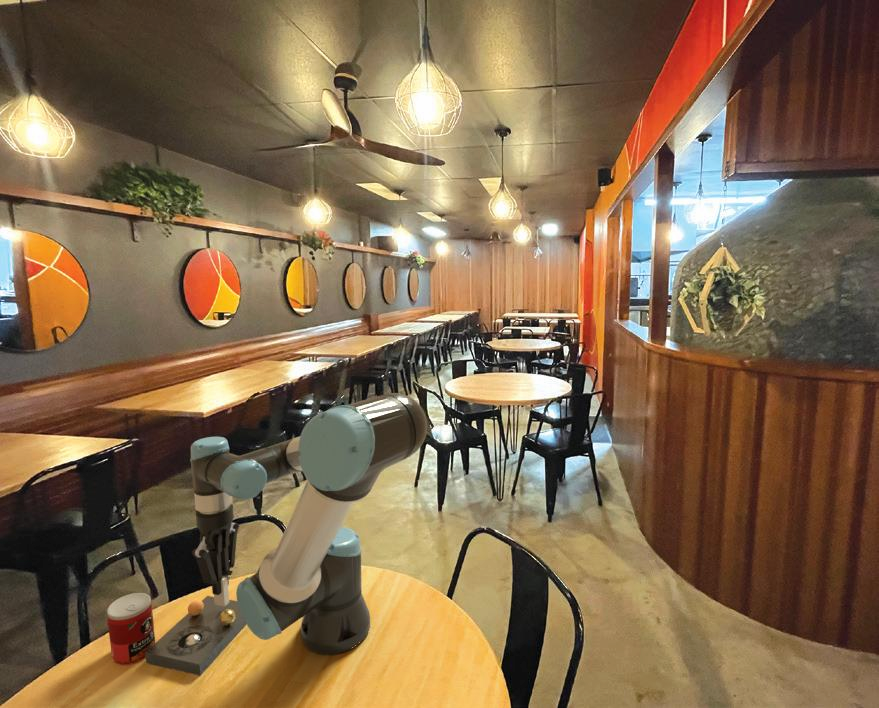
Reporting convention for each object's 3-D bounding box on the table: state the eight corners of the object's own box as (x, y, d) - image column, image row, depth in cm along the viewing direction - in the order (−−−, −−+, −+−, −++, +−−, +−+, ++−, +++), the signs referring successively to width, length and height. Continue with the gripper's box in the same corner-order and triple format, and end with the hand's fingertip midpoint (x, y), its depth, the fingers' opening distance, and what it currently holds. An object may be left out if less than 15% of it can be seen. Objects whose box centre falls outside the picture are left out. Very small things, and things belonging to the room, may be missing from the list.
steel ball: (198, 653, 100) (207, 637, 102) (190, 654, 97) (199, 637, 99) (186, 647, 101) (195, 631, 102) (178, 648, 98) (187, 631, 100)
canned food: (135, 669, 95) (130, 619, 93) (102, 662, 97) (96, 614, 95) (164, 641, 102) (160, 594, 101) (133, 635, 104) (128, 590, 102)
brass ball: (238, 620, 105) (237, 607, 105) (229, 630, 102) (228, 616, 102) (226, 617, 106) (225, 604, 105) (216, 627, 103) (215, 614, 102)
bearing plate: (255, 614, 111) (255, 604, 110) (200, 675, 93) (199, 664, 93) (208, 605, 114) (207, 595, 113) (146, 663, 96) (144, 652, 96)
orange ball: (207, 610, 108) (206, 597, 108) (197, 620, 105) (196, 607, 105) (195, 608, 109) (194, 595, 109) (185, 617, 106) (183, 604, 105)
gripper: (219, 492, 112) (226, 583, 116) (177, 519, 99) (187, 620, 103) (247, 495, 110) (253, 588, 114) (208, 523, 98) (216, 625, 101)
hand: (222, 603), depth 108 cm, fingers closed
